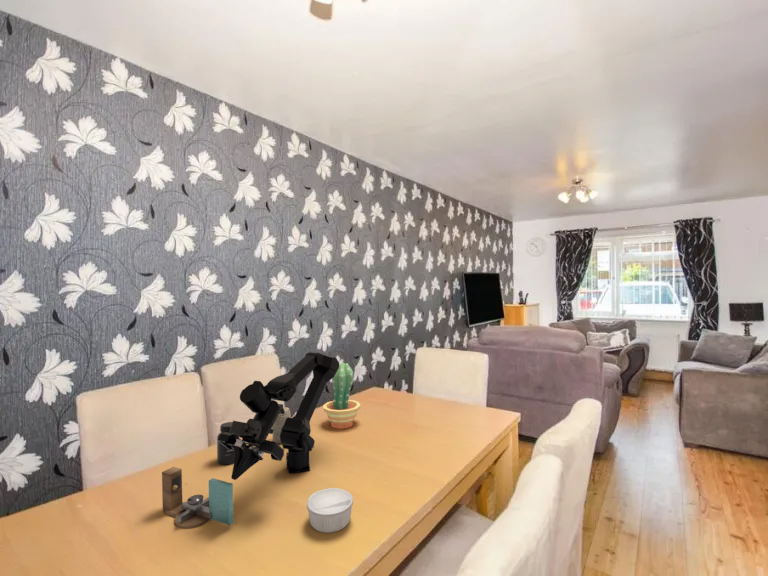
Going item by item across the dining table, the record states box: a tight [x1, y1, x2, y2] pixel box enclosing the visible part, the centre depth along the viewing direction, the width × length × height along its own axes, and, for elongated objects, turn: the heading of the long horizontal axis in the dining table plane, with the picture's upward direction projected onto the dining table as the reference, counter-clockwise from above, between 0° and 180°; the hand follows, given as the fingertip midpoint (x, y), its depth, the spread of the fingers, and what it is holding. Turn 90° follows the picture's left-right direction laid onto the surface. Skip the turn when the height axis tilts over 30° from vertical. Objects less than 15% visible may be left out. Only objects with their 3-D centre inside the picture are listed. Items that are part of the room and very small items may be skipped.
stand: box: [161, 466, 212, 529], centre depth 97 cm, size 9×15×10 cm, turn 65°
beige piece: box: [271, 406, 292, 445], centre depth 141 cm, size 6×8×12 cm
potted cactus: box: [323, 362, 361, 430], centre depth 157 cm, size 15×15×25 cm
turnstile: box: [178, 477, 234, 526], centre depth 94 cm, size 9×16×9 cm, turn 65°
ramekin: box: [306, 487, 354, 534], centre depth 93 cm, size 11×11×5 cm
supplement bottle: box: [216, 421, 240, 466], centre depth 126 cm, size 7×7×12 cm
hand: (233, 479), depth 97 cm, fingers closed
